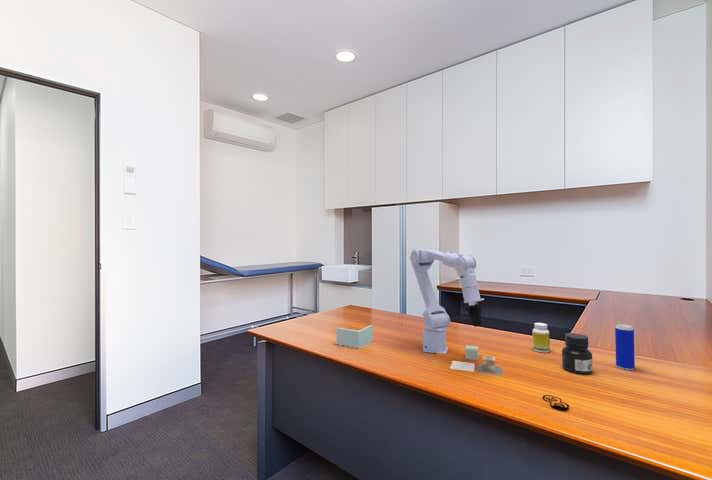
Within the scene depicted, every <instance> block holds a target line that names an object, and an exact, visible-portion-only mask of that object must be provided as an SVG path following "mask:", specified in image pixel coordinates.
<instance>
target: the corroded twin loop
mask: <svg viewBox="0 0 712 480" xmlns="http://www.w3.org/2000/svg"><path fill="white" fill-rule="evenodd" d="M550 397H551V398H550ZM542 399H543V400H544V401H545V402H549V404H550V407H551V408H553V409H555V410H558V411H562V412H564V411H567V410H568V409H569V407H570V405H569V404H568V403H566V402H564V401H562V398H560V397H558V396H554V395H550V394H543V396H542ZM558 400H560V401H559V402H558ZM552 402H554V403H553V405H552ZM565 405H566V407H565Z"/></svg>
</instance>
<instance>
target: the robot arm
mask: <svg viewBox="0 0 712 480" xmlns="http://www.w3.org/2000/svg"><path fill="white" fill-rule="evenodd" d="M409 259H410V262H411V265H412V268H413V270H414V275H415V277H416V281H417V283H418V287H419V290H420V293H421V295H422V300H423V302H424V304H425V308H426V309H425V310H424V311H423V314H422V315H423V323H424V327H426V328H423V330H422V352H423V353H430V354H431V353H433V354H447V352H448V350H449V347H447V330H448V327H449V326H450V325H451V318H450V316H449V314H448V313H447V312H446V308H445V307H443V306H441V305H440V304H439V302H438V299H437V296H436V293H435V290H434V288H433V284H432V282H431V279H430V276H429V273H428V270H430V269H431V267H432V265H433V263H434V261H435V260H437V261H440V262H442V264H443V265H444V266H447V267H448V268H452V269H454V270H455V271H456V274H457V276H458V277H459V281H460V286H461V291H462V296H463V303H464V304H468V306H464V309H465V310H466V312H467V314H468V316H469V318H470V321H471V323H472V325H473V327H481V325H482V323H483V322H482V308H483V304H478V302H481V301H485V298H484V297H483V298H482V297H481V295H480V290H479V286H478V281H477V276H476V272H475V270H476V268H477V261H476V259H475V258H474V257H473V256H472V255H465V256H464V255H463V253H456V252H455V251H454V250H449V251H446V252H441V251H439V250H436V249H433V248H422V249H421V248H420V249H416V248H413V250H412V251H411V253H410V256H409Z"/></svg>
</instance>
